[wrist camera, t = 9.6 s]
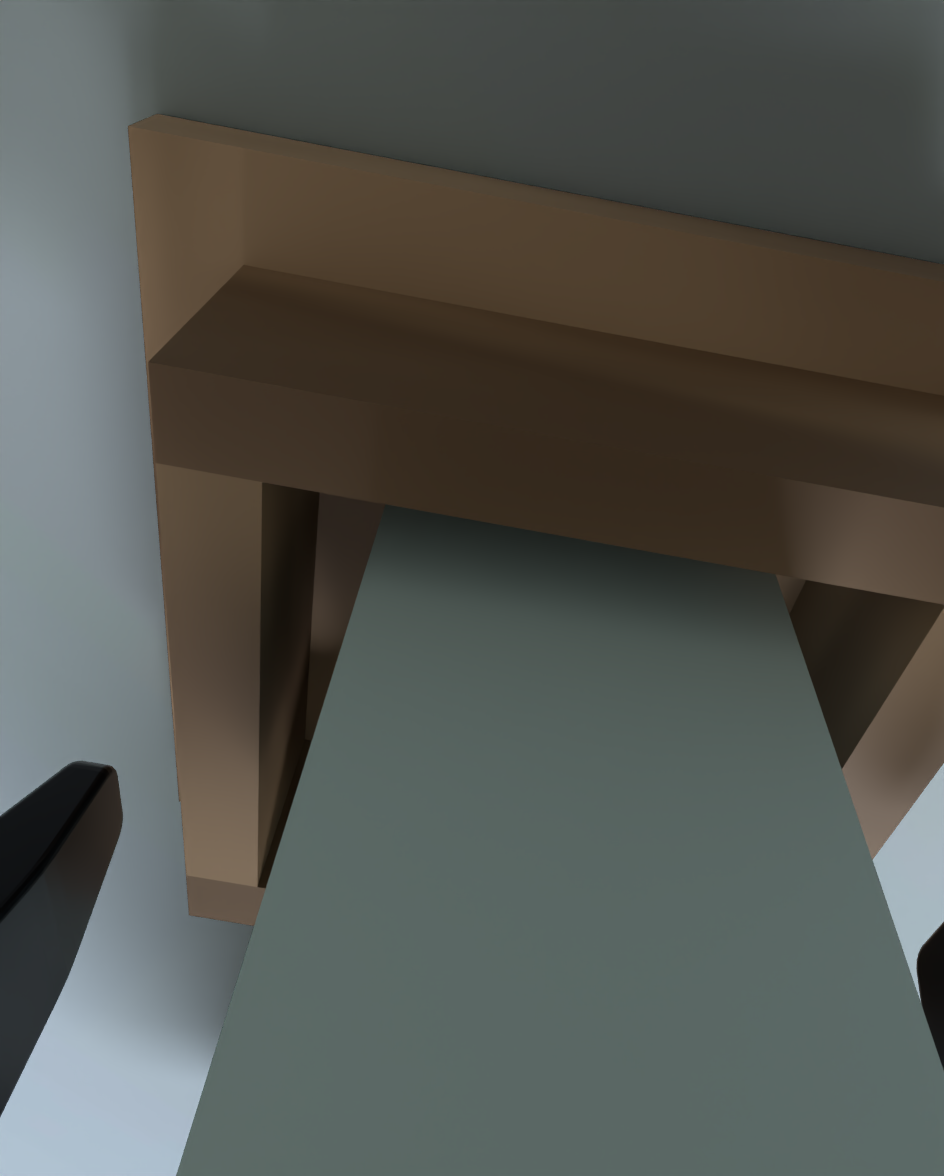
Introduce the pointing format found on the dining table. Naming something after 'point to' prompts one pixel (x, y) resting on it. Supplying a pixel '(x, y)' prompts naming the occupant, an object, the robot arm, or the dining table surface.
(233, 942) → the dining table surface
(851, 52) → the dining table surface
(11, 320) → the dining table surface
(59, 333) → the dining table surface
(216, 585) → the walnut socket
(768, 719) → the painted peg
